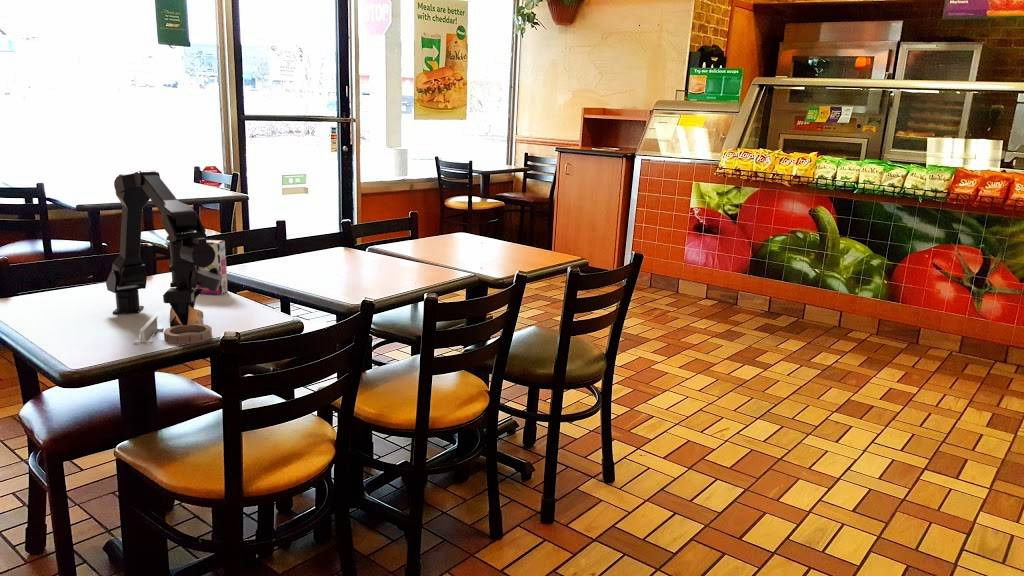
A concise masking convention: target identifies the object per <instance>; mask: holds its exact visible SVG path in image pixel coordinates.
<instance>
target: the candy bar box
mask: <svg viewBox="0 0 1024 576" xmlns="http://www.w3.org/2000/svg"><path fill="white" fill-rule="evenodd" d="M206 242H207V244H209V245H210V246H212V248H213V249H214V251H215V259H214V261H213V263H212V264H211V265H209V266H207V267H200V269H202V270H207V271H209V270H210V269H211V268H212V267H215V268H218V269H219V274H220V275H222V280H221V282H220V285H219V288H218V289H217V291H211V290H210V289H208V288H205V287H201V286H199V285H197V289H203V291H202V292H201V293H200V296H201V295H202V296H223V295H225V294H227V293H228V292H229V291H228V288H229V287H228V274H227V255H226V253H227V252H226V241H225V240H220V239H219V240H218V239H217V240H216V239H206Z"/></svg>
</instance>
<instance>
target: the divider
mask: <svg viewBox="0 0 1024 576" xmlns="http://www.w3.org/2000/svg"><path fill="white" fill-rule="evenodd" d="M157 318H158V317H157V316H151V318H150V319H149V320H148V321H147V322H146V323H145V324H144V325H143V326H142V327H141V329H140V330H139V339H140V340H134V341H133V345H153V343H154V340H151V338H153V336H154V335H155V333H157V332H164V331H165V330H164V327H158V319H157ZM153 334H154V335H153Z"/></svg>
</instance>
